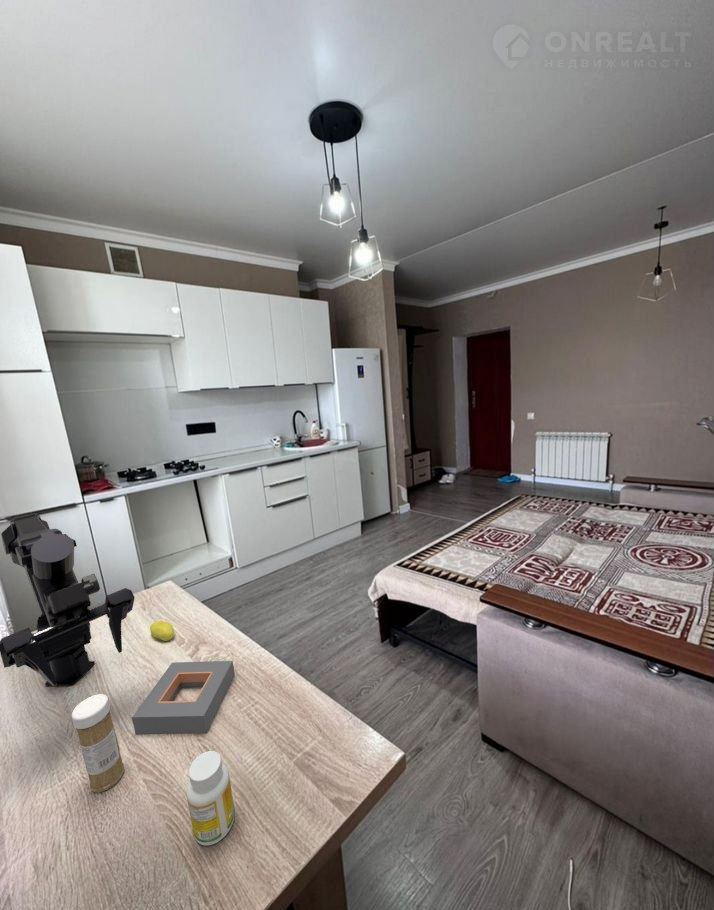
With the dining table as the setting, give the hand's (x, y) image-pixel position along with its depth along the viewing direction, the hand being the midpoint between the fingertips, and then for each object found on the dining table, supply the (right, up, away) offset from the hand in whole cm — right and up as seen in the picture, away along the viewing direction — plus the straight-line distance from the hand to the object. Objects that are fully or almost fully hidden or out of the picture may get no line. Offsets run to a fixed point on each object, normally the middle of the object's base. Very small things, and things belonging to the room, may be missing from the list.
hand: (89, 667), depth 62 cm
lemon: (-3, -10, +30) cm, 32 cm away
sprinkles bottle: (+6, -15, -4) cm, 17 cm away
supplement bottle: (+25, -15, -11) cm, 32 cm away
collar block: (+13, -12, +9) cm, 20 cm away
